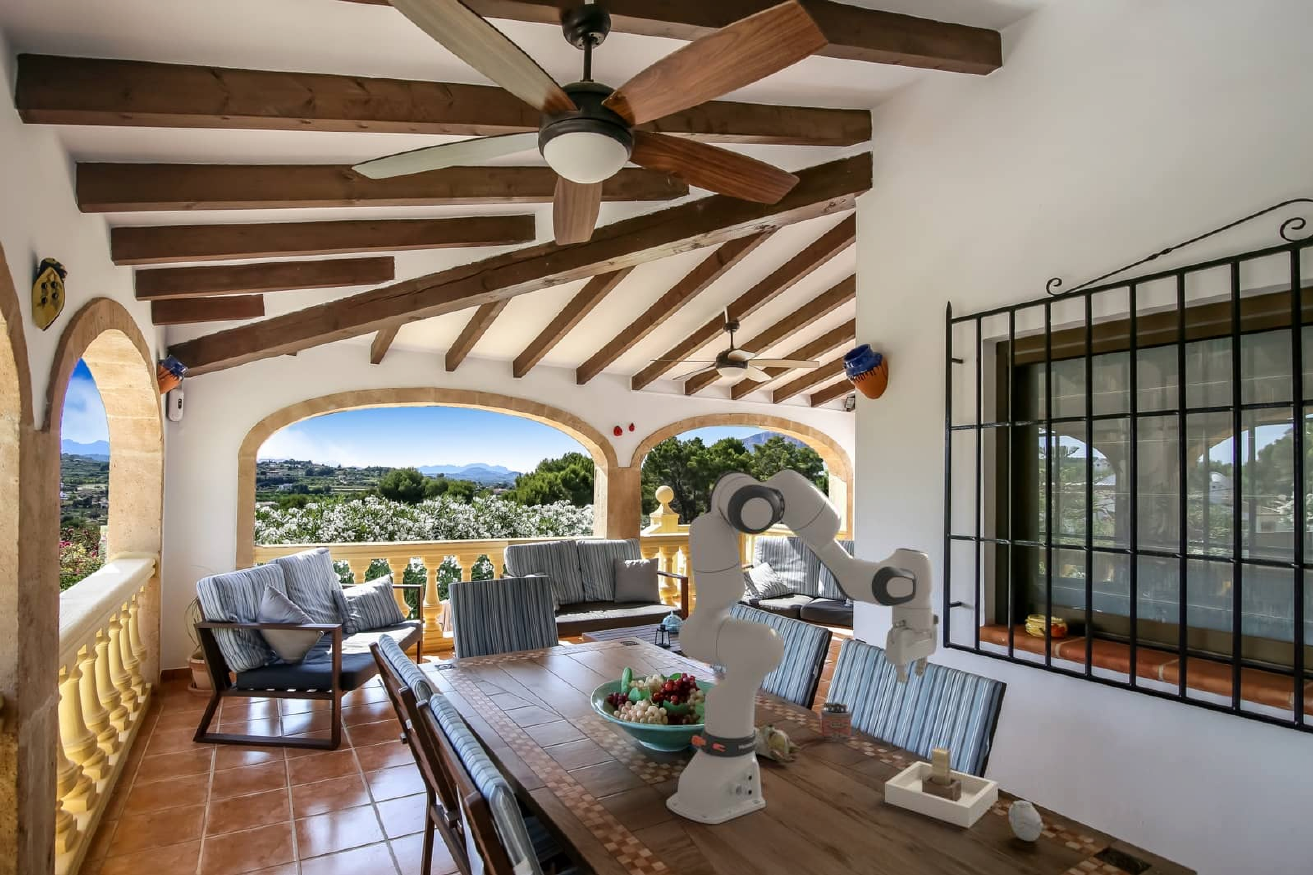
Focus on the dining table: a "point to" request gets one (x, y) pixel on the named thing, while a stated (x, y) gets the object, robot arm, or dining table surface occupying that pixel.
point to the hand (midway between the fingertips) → (911, 678)
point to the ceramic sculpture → (775, 744)
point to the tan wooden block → (941, 766)
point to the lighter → (836, 723)
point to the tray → (942, 794)
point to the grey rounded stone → (1025, 820)
